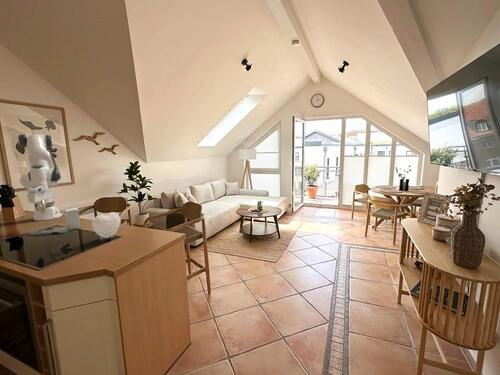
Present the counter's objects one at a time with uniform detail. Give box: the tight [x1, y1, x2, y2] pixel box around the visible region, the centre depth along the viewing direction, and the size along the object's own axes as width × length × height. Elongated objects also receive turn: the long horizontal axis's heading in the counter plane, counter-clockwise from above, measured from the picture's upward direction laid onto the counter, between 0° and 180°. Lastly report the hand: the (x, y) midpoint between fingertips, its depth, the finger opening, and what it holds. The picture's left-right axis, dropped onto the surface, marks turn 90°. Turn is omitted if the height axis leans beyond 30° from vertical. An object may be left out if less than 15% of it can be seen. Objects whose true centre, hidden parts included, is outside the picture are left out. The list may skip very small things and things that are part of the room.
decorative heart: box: [91, 211, 121, 240], centre depth 161 cm, size 18×11×17 cm, turn 157°
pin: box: [39, 200, 46, 213], centre depth 178 cm, size 3×3×9 cm
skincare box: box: [64, 207, 81, 231], centre depth 183 cm, size 8×6×15 cm
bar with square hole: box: [28, 226, 70, 236], centre depth 173 cm, size 7×22×3 cm, turn 99°
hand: (42, 206), depth 178 cm, fingers closed on pin, 3 cm apart
